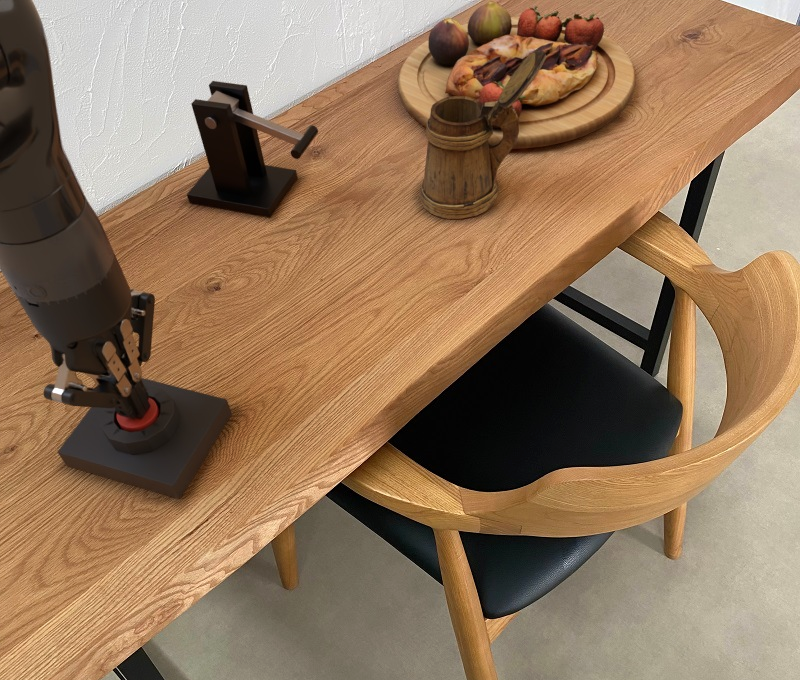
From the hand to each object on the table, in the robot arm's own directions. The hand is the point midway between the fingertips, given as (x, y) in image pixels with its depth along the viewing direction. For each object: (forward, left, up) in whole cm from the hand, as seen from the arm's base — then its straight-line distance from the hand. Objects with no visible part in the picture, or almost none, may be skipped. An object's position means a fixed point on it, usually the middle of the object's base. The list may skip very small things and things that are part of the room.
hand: (137, 411), depth 71 cm
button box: (0, 0, -4) cm, 4 cm away
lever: (-5, +37, +4) cm, 38 cm away
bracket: (-9, +37, -4) cm, 38 cm away
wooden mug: (+19, +43, -4) cm, 47 cm away
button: (0, 0, -2) cm, 2 cm away
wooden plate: (+17, +68, -4) cm, 70 cm away
